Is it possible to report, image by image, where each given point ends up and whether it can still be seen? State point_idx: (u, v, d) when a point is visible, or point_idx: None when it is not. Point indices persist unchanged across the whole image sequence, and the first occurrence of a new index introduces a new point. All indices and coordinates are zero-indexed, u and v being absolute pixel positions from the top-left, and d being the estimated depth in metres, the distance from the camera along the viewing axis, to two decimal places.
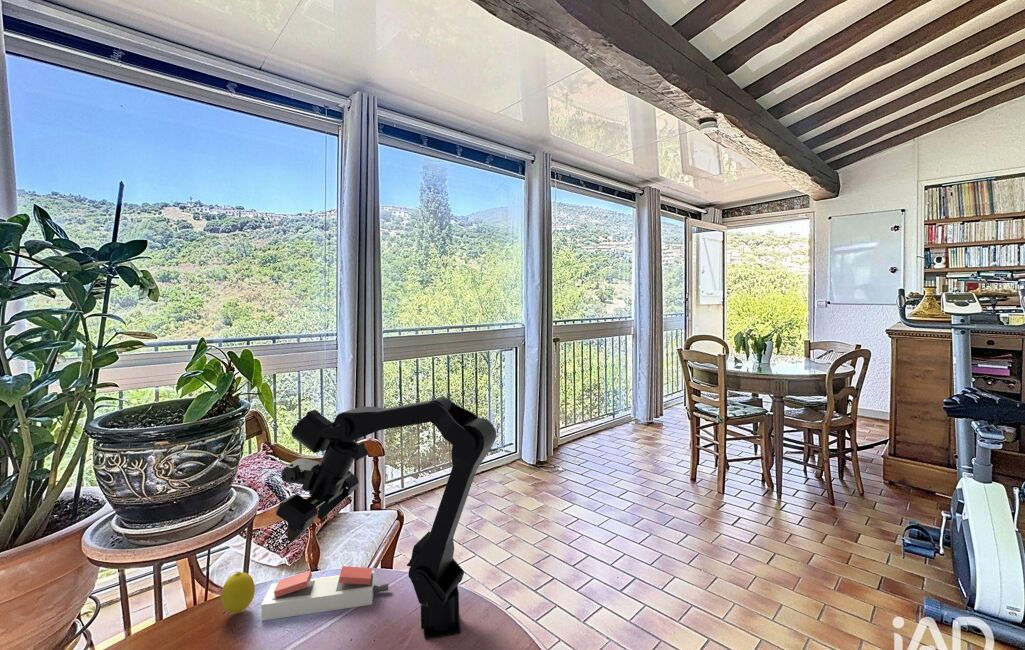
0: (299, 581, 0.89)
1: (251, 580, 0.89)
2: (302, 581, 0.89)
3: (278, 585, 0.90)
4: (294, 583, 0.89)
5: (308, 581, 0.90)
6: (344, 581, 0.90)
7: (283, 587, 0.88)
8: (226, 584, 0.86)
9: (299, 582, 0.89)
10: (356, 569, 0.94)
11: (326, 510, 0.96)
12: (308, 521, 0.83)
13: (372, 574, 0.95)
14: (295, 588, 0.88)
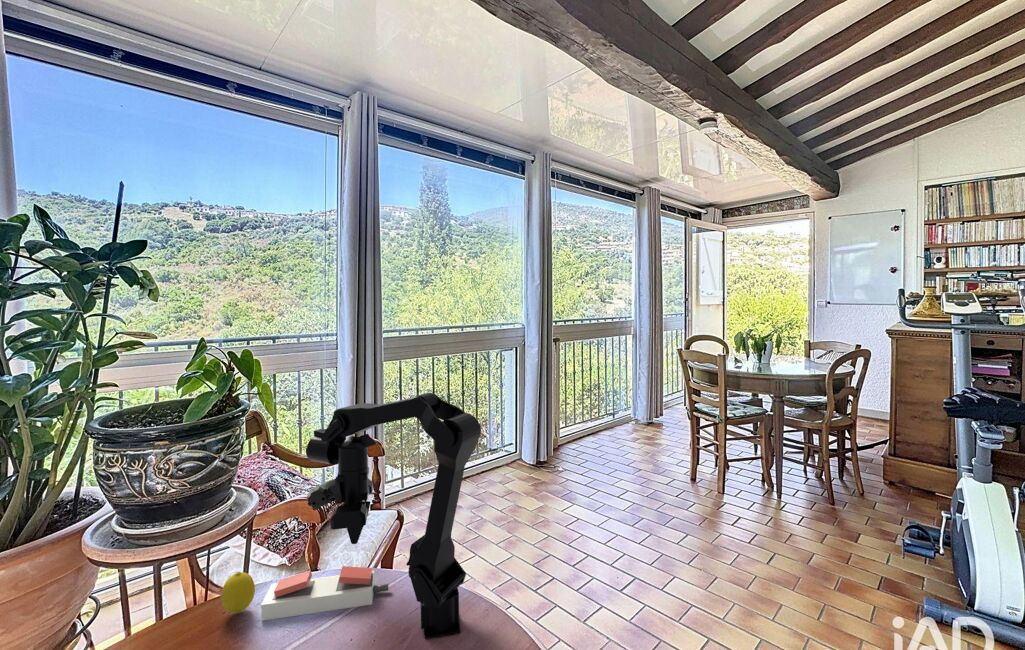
0: (299, 581, 0.89)
1: (251, 580, 0.89)
2: (302, 581, 0.89)
3: (278, 585, 0.90)
4: (294, 583, 0.89)
5: (308, 581, 0.90)
6: (344, 581, 0.90)
7: (283, 587, 0.88)
8: (226, 584, 0.86)
9: (299, 582, 0.89)
10: (356, 569, 0.94)
11: None
12: (366, 515, 0.86)
13: (372, 574, 0.95)
14: (295, 588, 0.88)
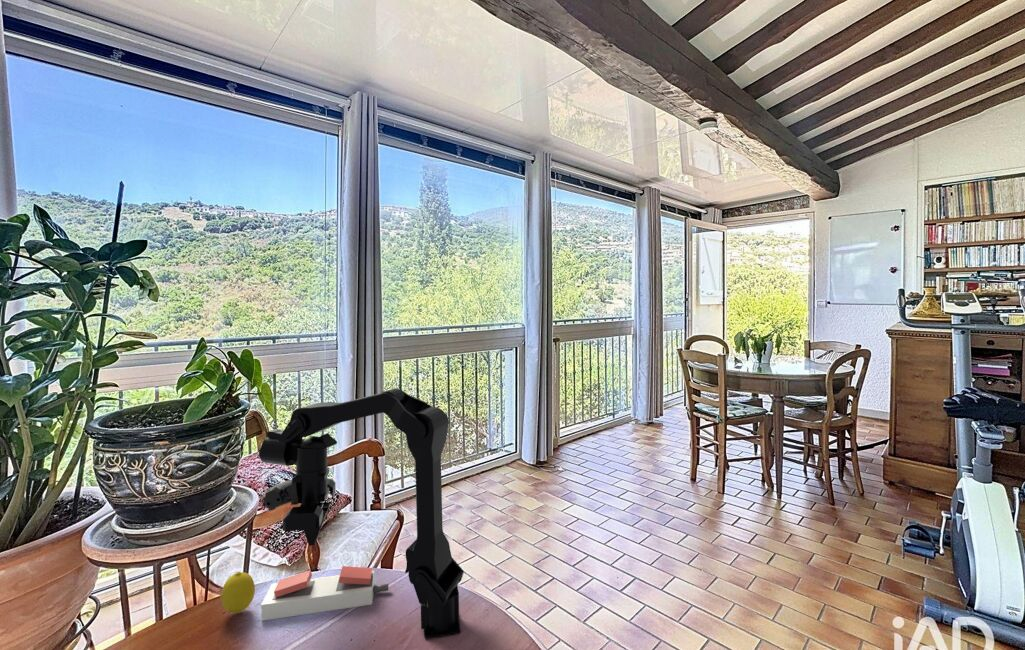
0: (299, 581, 0.89)
1: (251, 580, 0.89)
2: (302, 581, 0.89)
3: (278, 585, 0.90)
4: (294, 583, 0.89)
5: (308, 581, 0.90)
6: (344, 581, 0.90)
7: (283, 587, 0.88)
8: (226, 584, 0.86)
9: (299, 582, 0.89)
10: (356, 569, 0.94)
11: None
12: (320, 517, 0.84)
13: (372, 574, 0.95)
14: (295, 588, 0.88)
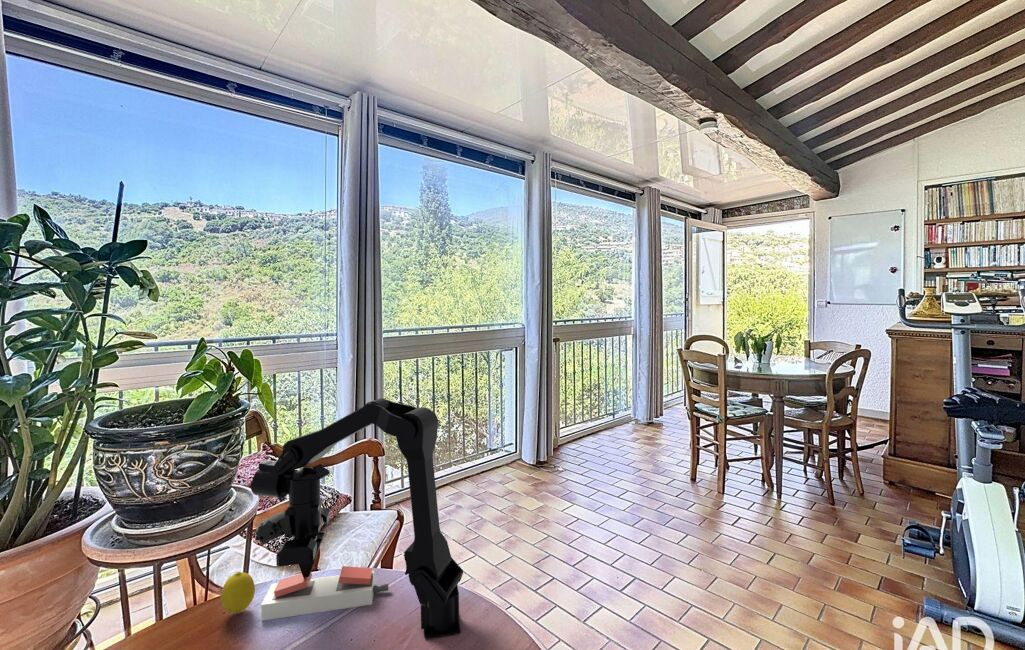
0: (299, 581, 0.89)
1: (251, 580, 0.89)
2: (302, 581, 0.89)
3: (278, 585, 0.90)
4: (294, 583, 0.89)
5: (308, 581, 0.90)
6: (344, 581, 0.90)
7: (283, 587, 0.88)
8: (226, 584, 0.86)
9: (299, 582, 0.89)
10: (356, 569, 0.94)
11: None
12: (314, 551, 0.84)
13: (372, 574, 0.95)
14: (295, 588, 0.88)
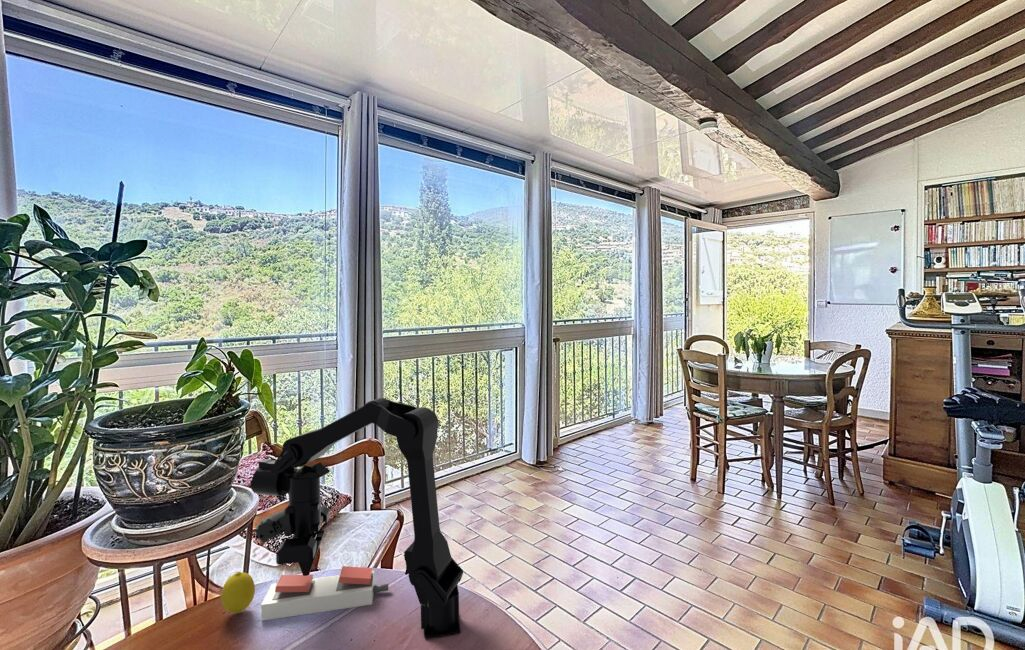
0: (301, 583, 0.89)
1: (251, 580, 0.89)
2: (304, 584, 0.89)
3: (280, 580, 0.90)
4: (296, 584, 0.89)
5: (309, 586, 0.90)
6: (344, 581, 0.90)
7: (286, 584, 0.88)
8: (226, 584, 0.86)
9: (301, 584, 0.89)
10: (356, 569, 0.94)
11: None
12: (314, 549, 0.84)
13: (372, 574, 0.95)
14: (296, 589, 0.88)
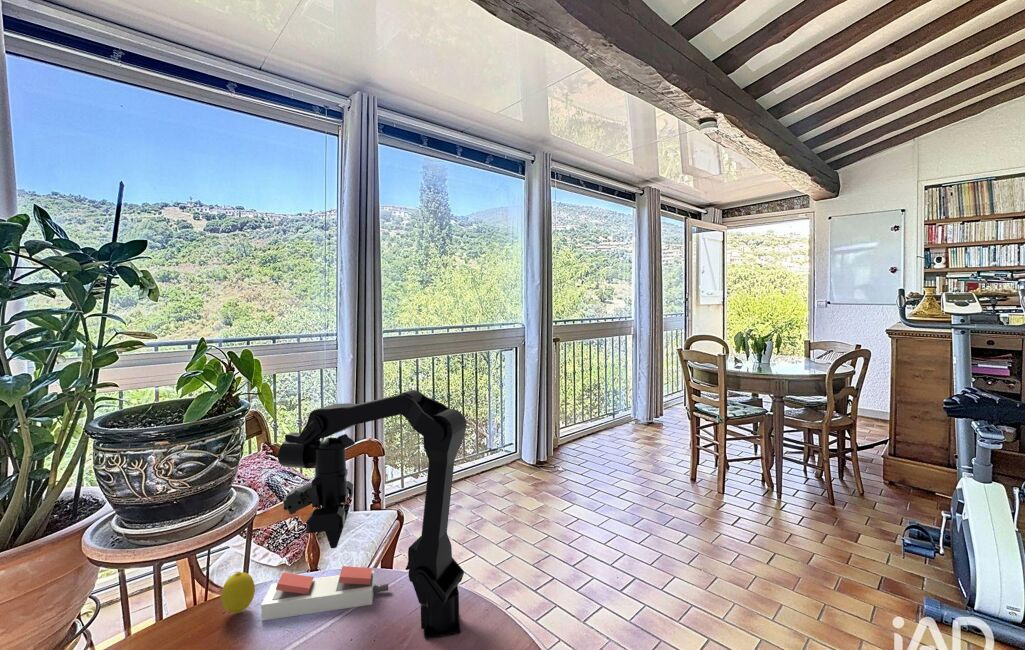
0: (302, 585, 0.89)
1: (251, 580, 0.89)
2: (305, 586, 0.89)
3: (282, 578, 0.90)
4: (297, 584, 0.89)
5: (309, 588, 0.90)
6: (344, 581, 0.90)
7: (287, 583, 0.89)
8: (226, 584, 0.86)
9: (302, 586, 0.89)
10: (356, 569, 0.94)
11: None
12: (343, 518, 0.83)
13: (372, 574, 0.95)
14: (296, 590, 0.88)
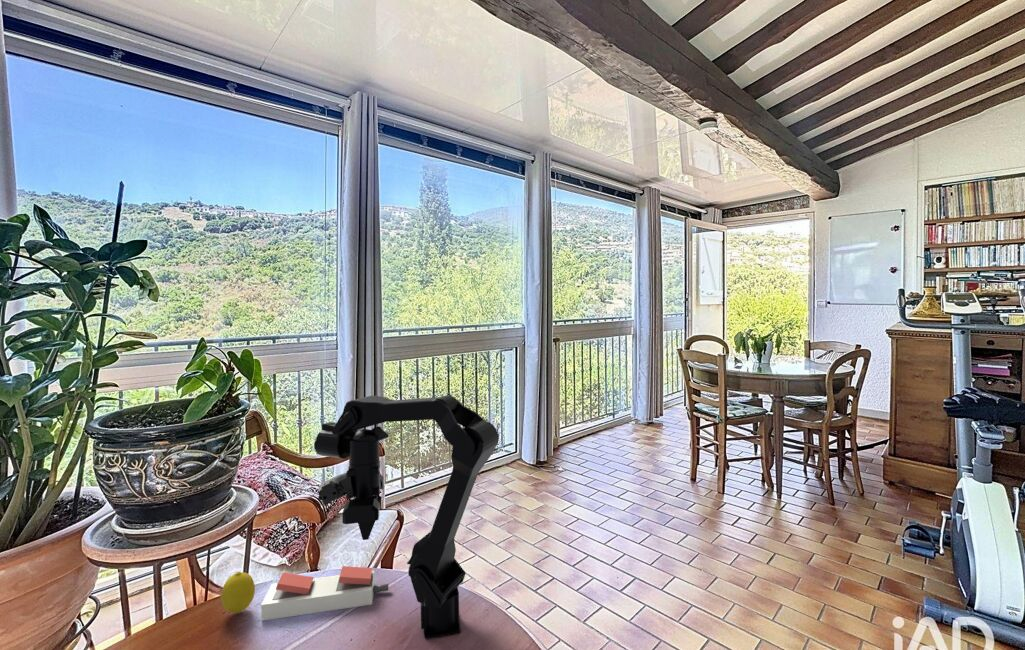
0: (302, 585, 0.89)
1: (251, 580, 0.89)
2: (305, 586, 0.89)
3: (282, 578, 0.90)
4: (297, 584, 0.89)
5: (309, 589, 0.90)
6: (344, 581, 0.90)
7: (287, 583, 0.89)
8: (226, 584, 0.86)
9: (302, 586, 0.89)
10: (356, 569, 0.94)
11: None
12: (378, 510, 0.83)
13: (372, 574, 0.95)
14: (296, 590, 0.88)
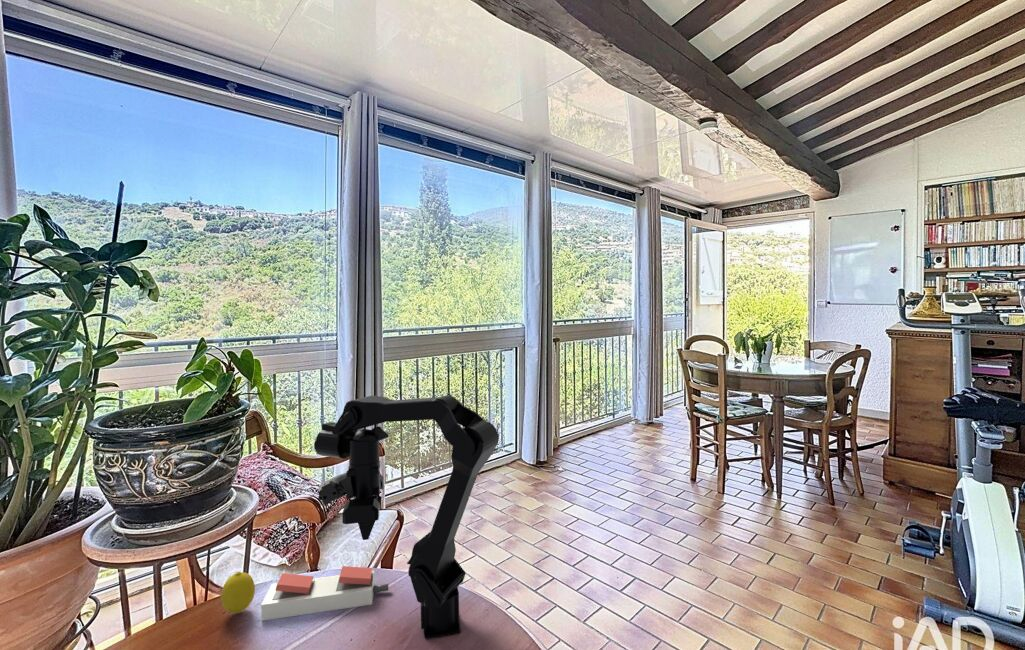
0: (302, 584, 0.89)
1: (251, 580, 0.89)
2: (305, 586, 0.89)
3: (281, 579, 0.90)
4: (297, 584, 0.89)
5: (309, 588, 0.90)
6: (344, 581, 0.90)
7: (287, 583, 0.89)
8: (226, 584, 0.86)
9: (302, 585, 0.89)
10: (356, 569, 0.94)
11: None
12: (378, 510, 0.83)
13: (372, 574, 0.95)
14: (296, 590, 0.88)
